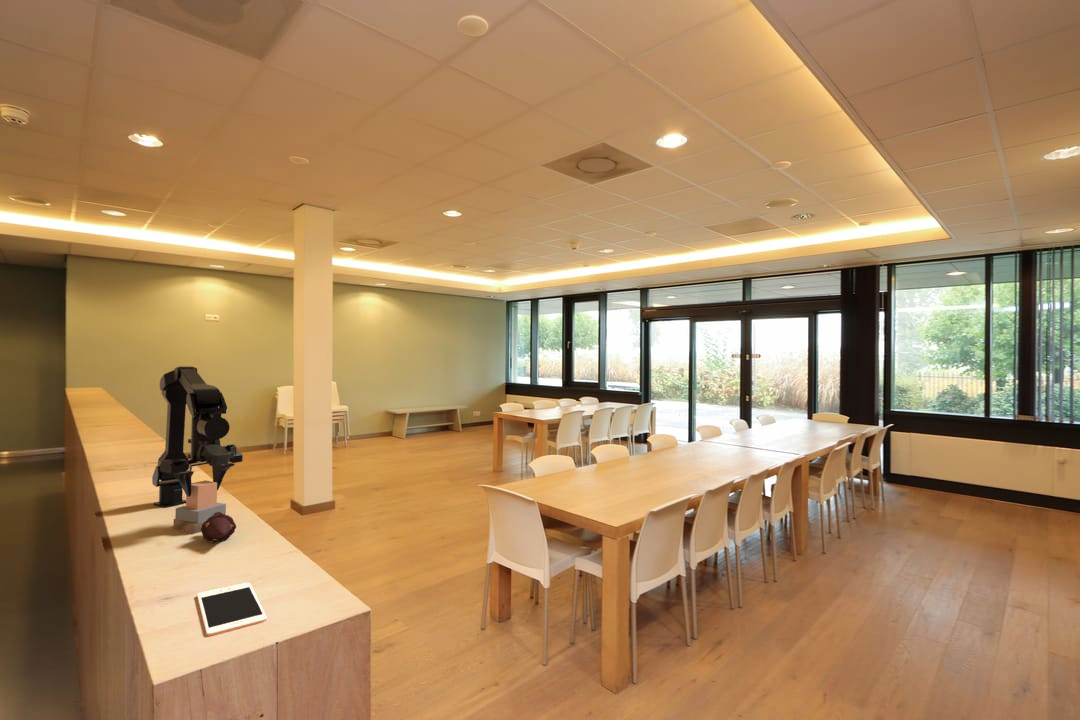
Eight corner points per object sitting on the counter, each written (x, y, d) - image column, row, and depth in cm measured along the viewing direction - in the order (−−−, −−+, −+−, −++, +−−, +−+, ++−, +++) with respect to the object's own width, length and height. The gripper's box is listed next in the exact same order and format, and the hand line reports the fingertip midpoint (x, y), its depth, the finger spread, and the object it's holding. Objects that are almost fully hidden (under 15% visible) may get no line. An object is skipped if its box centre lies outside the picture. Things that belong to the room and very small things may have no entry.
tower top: (175, 519, 135) (175, 508, 135) (203, 511, 143) (204, 500, 143) (197, 523, 132) (198, 511, 133) (225, 514, 140) (225, 503, 140)
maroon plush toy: (243, 519, 124) (235, 510, 136) (208, 516, 119) (202, 507, 131) (235, 549, 122) (227, 537, 134) (199, 548, 118) (194, 535, 130)
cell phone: (249, 586, 103) (249, 581, 103) (267, 623, 89) (267, 618, 89) (196, 597, 98) (196, 592, 98) (206, 639, 84) (206, 633, 84)
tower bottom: (173, 530, 135) (173, 519, 135) (207, 521, 144) (208, 510, 144) (194, 536, 132) (194, 524, 132) (228, 526, 140) (228, 515, 140)
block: (186, 506, 137) (186, 484, 137) (205, 502, 141) (205, 480, 141) (197, 509, 135) (198, 486, 135) (216, 504, 139) (217, 482, 139)
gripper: (185, 442, 126) (184, 506, 126) (256, 433, 143) (255, 489, 143) (159, 438, 131) (157, 499, 131) (230, 430, 148) (229, 484, 148)
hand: (202, 493), depth 138 cm, fingers open, 7 cm apart
